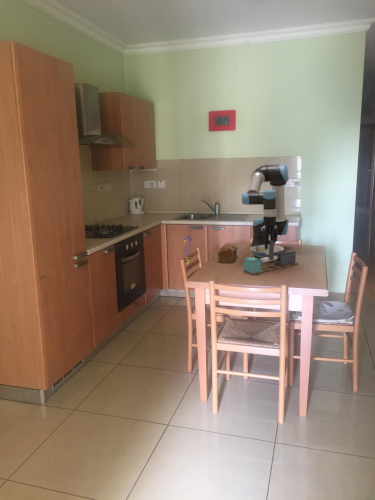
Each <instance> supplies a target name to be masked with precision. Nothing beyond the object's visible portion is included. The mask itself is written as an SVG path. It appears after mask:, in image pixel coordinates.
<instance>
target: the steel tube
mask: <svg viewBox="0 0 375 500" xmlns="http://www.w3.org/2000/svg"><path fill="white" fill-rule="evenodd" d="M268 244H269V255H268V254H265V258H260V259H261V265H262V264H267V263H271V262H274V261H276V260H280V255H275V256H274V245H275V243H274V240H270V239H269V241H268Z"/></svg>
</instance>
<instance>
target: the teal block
mask: <svg viewBox="0 0 375 500" xmlns="http://www.w3.org/2000/svg"><path fill="white" fill-rule="evenodd" d="M261 266H262V264H261V258H258V257H252V256H249V257H244V258H243V270H244V271H248V272H251V273H257V272H261Z"/></svg>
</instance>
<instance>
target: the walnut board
mask: <svg viewBox="0 0 375 500" xmlns="http://www.w3.org/2000/svg"><path fill="white" fill-rule="evenodd" d="M297 265H299V263H298V262H296V261H295V263H292V264H288V265H284V266H278V265H275V264H274V263H270V264H267V265H261V272H257V273H251V272H248V271H244V269H243V271H242V272H243V273H245V274H249V275H251V276H254V275H255V276H256V275H260V274H264V273H268V272H272V271H276V270H281V269H285V268H289V267H294V266H297Z"/></svg>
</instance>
